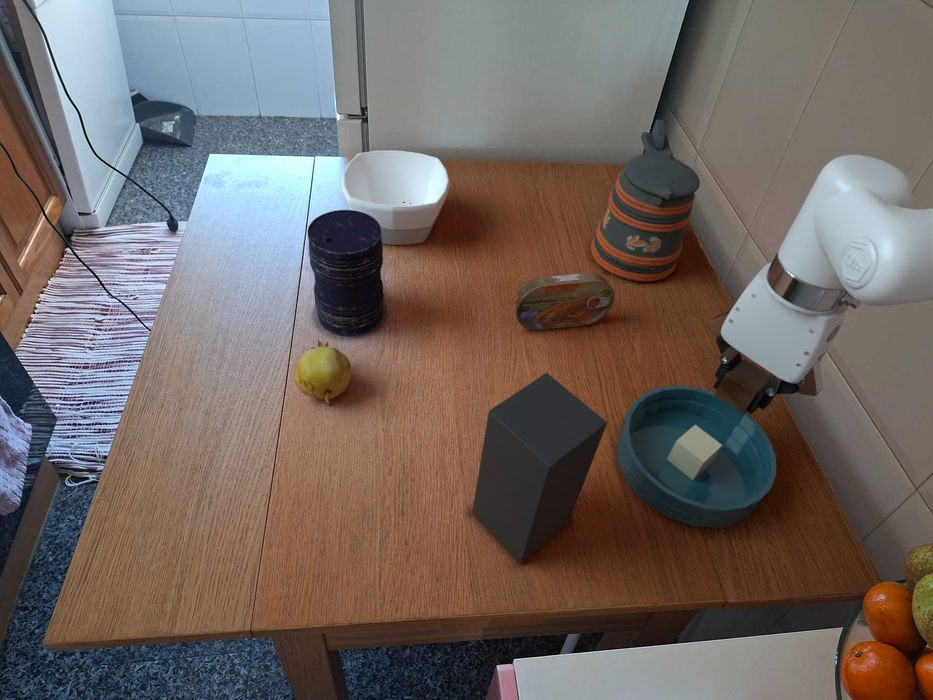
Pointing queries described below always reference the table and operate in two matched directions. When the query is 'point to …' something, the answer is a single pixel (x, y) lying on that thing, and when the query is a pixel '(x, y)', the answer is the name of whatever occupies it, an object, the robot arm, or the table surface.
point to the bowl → (397, 192)
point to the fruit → (322, 372)
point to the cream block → (694, 452)
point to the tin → (563, 301)
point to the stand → (534, 464)
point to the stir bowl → (722, 483)
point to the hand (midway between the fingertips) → (738, 394)
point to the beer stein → (646, 213)
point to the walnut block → (741, 386)
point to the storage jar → (347, 271)
